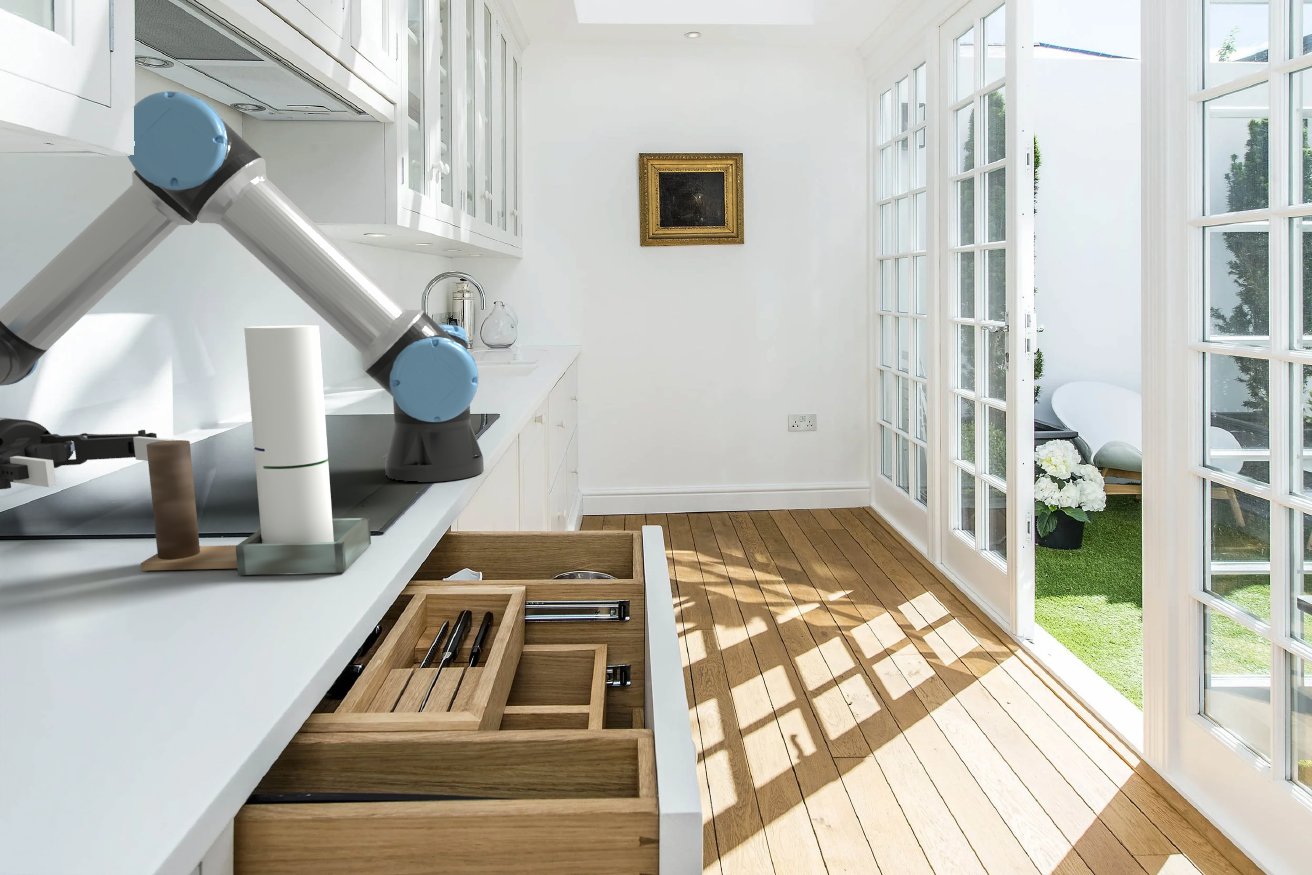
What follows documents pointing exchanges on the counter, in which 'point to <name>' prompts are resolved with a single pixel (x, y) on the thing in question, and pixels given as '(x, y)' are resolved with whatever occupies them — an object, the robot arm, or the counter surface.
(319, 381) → the cylindrical container
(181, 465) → the holder stand
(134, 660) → the counter surface
